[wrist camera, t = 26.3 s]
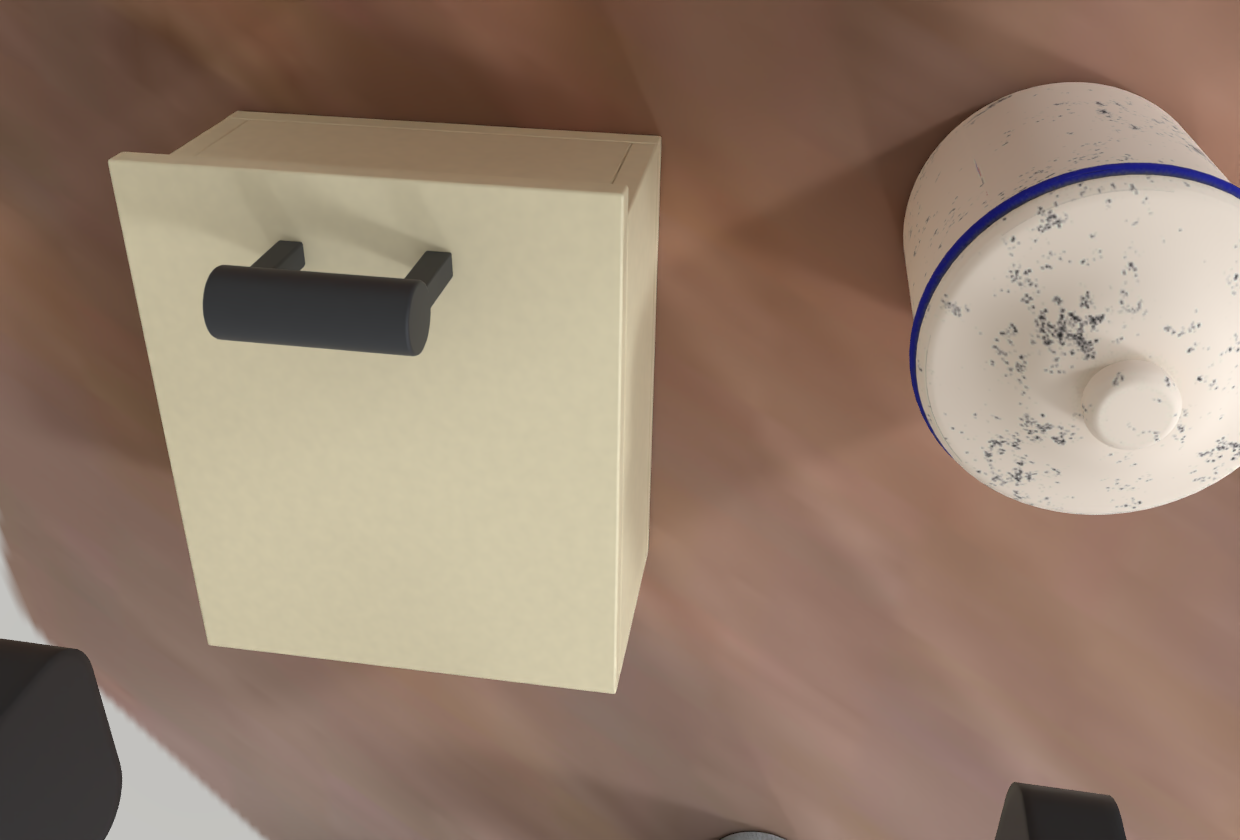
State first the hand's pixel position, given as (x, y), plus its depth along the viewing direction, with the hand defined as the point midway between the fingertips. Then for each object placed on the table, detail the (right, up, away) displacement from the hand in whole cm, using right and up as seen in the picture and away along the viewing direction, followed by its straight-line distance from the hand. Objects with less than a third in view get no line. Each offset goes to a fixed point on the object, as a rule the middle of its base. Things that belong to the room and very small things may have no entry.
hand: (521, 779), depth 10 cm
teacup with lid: (+15, +9, +25) cm, 31 cm away
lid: (-6, +3, +24) cm, 25 cm away
